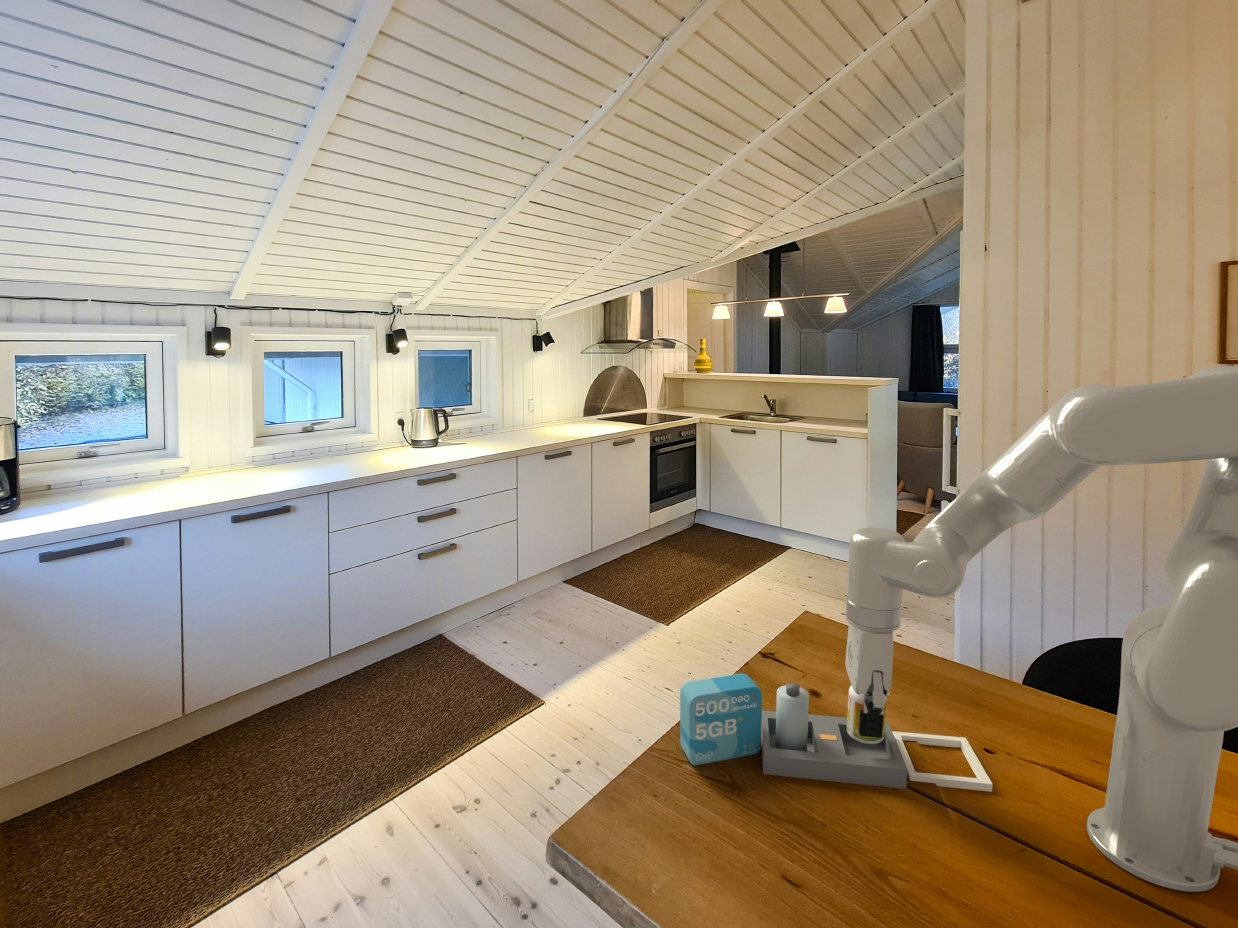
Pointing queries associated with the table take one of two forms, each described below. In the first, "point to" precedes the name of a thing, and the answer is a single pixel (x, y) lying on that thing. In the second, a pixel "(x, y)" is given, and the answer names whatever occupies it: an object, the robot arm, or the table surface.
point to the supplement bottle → (854, 716)
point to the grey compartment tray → (834, 754)
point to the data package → (720, 718)
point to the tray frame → (945, 780)
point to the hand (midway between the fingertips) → (866, 722)
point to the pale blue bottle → (792, 717)
